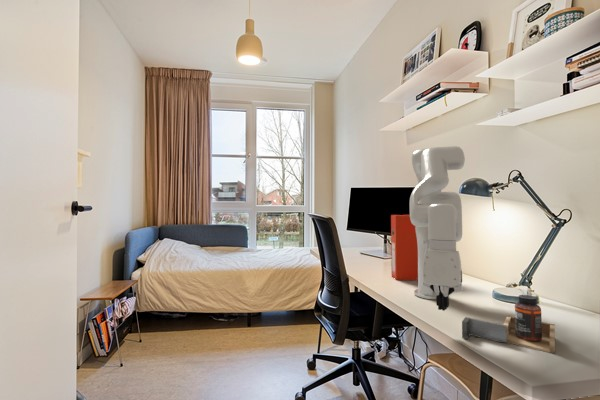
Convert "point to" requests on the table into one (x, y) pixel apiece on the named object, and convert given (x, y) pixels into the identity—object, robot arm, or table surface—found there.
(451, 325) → the table surface
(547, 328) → the caddy
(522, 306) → the supplement bottle
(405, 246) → the file binder
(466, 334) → the grey l-shaped block
